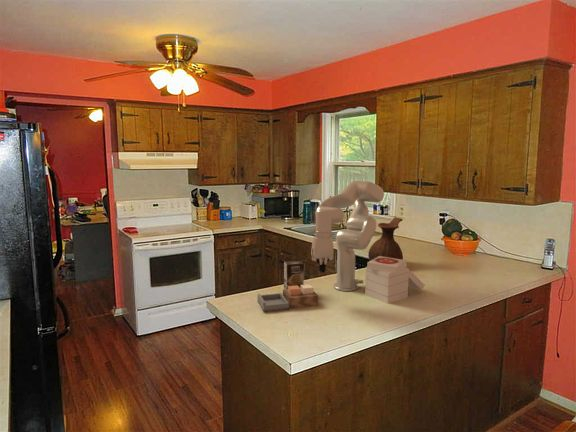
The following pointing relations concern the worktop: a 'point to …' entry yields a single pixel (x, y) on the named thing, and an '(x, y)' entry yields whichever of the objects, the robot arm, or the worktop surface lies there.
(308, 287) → the tile
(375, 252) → the jug
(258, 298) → the box
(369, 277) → the pizza boxes
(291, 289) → the tile
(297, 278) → the coffee box
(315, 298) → the wooden square board
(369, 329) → the worktop surface
